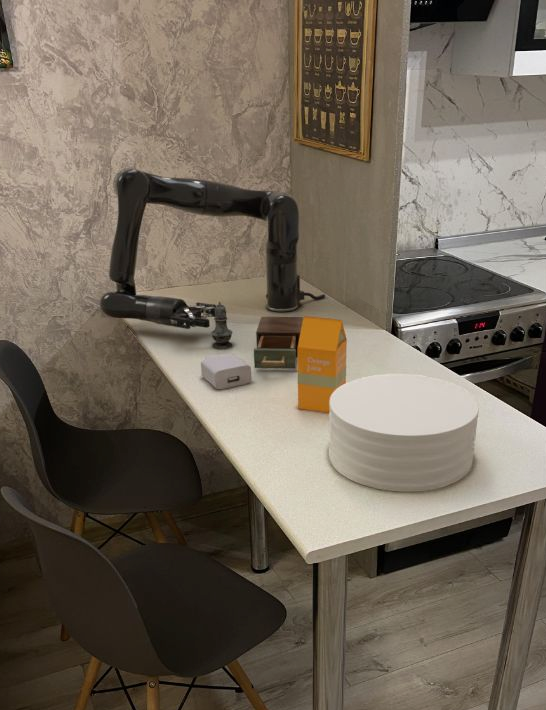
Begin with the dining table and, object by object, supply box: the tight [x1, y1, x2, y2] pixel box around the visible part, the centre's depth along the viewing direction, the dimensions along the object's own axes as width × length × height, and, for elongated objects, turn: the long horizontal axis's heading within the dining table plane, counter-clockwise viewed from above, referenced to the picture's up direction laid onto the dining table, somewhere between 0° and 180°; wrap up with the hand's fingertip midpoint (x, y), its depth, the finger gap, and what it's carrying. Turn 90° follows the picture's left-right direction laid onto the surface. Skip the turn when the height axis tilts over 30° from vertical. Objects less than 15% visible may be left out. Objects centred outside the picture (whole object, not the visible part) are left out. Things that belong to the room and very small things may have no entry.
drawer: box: [253, 335, 297, 370], centre depth 188 cm, size 16×10×5 cm, turn 176°
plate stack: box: [328, 373, 480, 493], centre depth 145 cm, size 28×28×12 cm
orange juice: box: [297, 315, 348, 414], centre depth 164 cm, size 8×9×20 cm
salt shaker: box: [210, 301, 234, 350], centre depth 200 cm, size 6×6×12 cm
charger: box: [200, 353, 252, 390], centre depth 183 cm, size 5×9×15 cm
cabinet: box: [255, 316, 304, 357], centre depth 199 cm, size 12×11×6 cm
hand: (217, 318), depth 200 cm, fingers open, 8 cm apart
